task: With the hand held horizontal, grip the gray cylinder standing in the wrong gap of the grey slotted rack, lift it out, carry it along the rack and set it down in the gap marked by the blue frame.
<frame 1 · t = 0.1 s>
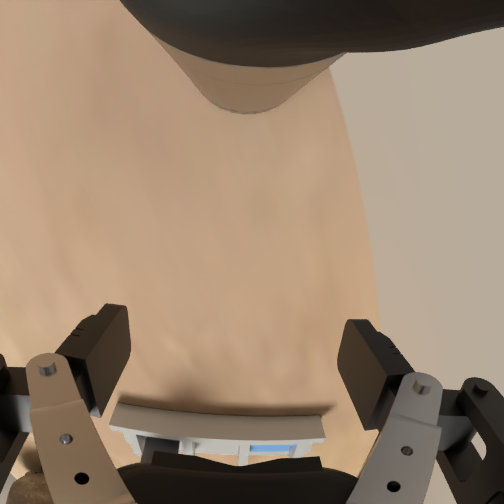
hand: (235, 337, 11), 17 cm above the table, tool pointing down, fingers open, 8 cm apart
bowl: (70, 486, 46), on the table
grey slotted rack: (216, 432, 37), on the table
gray cylinder: (164, 435, 36), point 1 cm above the table, touching grey slotted rack
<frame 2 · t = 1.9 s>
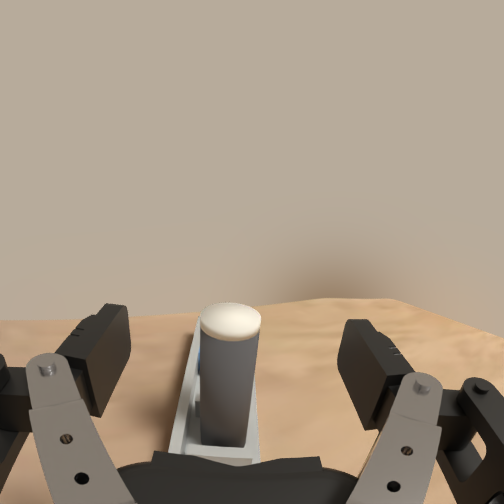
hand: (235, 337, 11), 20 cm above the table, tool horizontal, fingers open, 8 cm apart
grey slotted rack: (220, 400, 34), on the table
gray cylinder: (223, 439, 27), point 1 cm above the table, touching grey slotted rack
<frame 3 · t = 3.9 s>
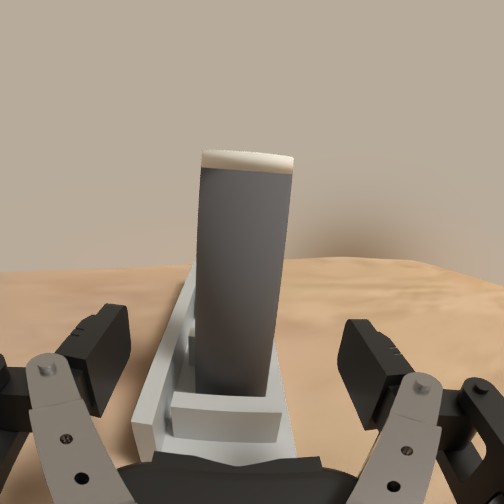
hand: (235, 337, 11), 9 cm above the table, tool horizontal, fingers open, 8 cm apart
grey slotted rack: (225, 348, 26), on the table
gray cylinder: (230, 394, 19), point 1 cm above the table, touching grey slotted rack
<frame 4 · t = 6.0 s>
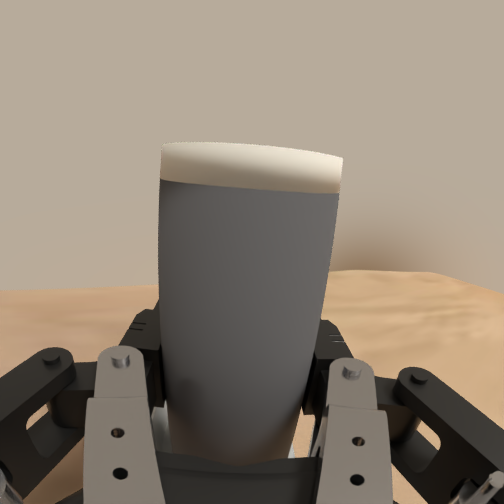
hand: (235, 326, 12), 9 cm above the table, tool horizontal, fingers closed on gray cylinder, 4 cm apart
grey slotted rack: (220, 412, 18), on the table
gray cylinder: (227, 494, 11), point 1 cm above the table, touching grey slotted rack, gripper
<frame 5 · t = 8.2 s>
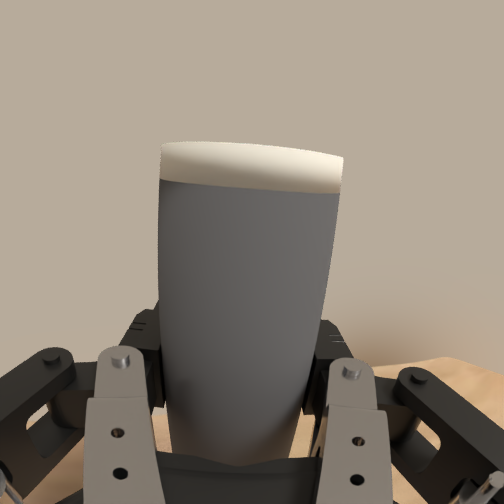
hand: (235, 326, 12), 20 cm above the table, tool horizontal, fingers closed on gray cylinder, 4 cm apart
gray cylinder: (227, 494, 11), point 12 cm above the table, touching gripper
when the fingers open (11 cm above the table, at t = 10.6 s): gray cylinder drops 1 cm, resting on grey slotted rack.
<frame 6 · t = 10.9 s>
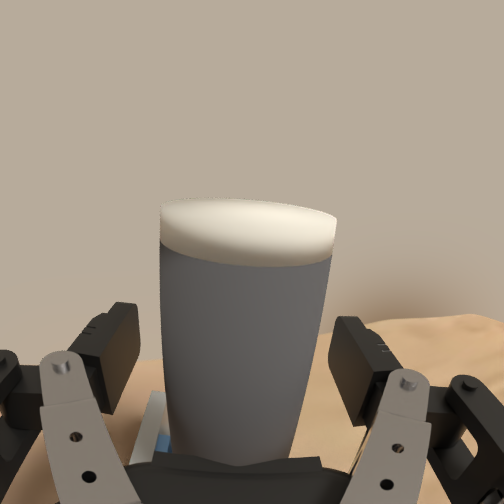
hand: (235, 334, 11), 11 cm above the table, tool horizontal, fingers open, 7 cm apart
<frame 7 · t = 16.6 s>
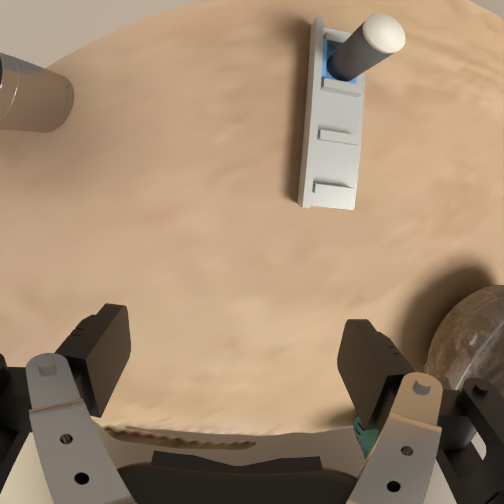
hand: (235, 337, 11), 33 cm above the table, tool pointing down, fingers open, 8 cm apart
bowl: (459, 328, 51), on the table
grey slotted rack: (333, 114, 40), on the table
gray cylinder: (342, 67, 37), point 1 cm above the table, touching grey slotted rack
beverage bottle: (364, 414, 55), on the table
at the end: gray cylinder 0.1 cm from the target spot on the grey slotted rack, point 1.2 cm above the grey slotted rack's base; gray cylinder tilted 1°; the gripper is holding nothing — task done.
